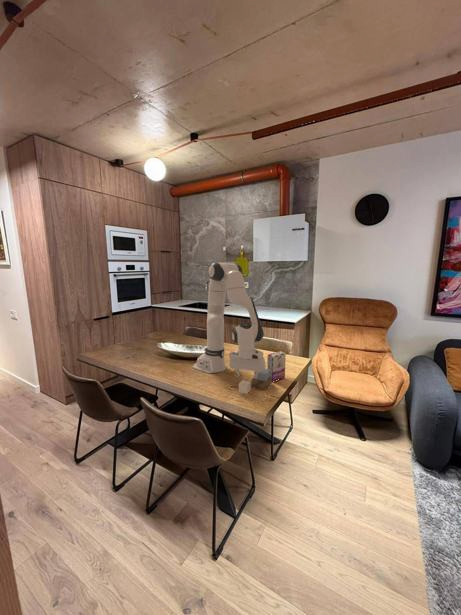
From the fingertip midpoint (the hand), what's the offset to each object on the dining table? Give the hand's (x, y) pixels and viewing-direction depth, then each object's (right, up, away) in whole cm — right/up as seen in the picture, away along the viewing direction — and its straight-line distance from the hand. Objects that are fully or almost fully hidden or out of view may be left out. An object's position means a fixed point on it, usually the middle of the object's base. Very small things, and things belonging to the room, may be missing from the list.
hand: (247, 376), depth 141 cm
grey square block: (+9, -3, +8) cm, 12 cm away
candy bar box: (+19, -6, +17) cm, 26 cm away
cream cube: (-2, -8, +2) cm, 9 cm away
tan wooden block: (+9, -8, +9) cm, 14 cm away
